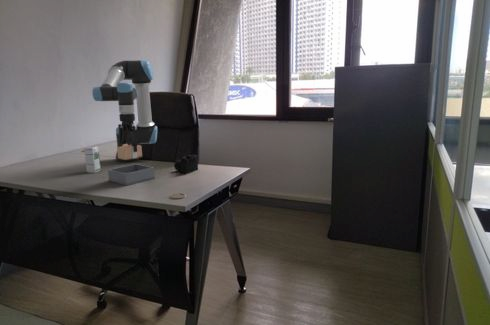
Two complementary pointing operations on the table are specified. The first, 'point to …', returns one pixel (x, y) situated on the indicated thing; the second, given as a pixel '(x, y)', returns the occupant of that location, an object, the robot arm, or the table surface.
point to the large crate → (131, 174)
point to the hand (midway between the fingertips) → (130, 157)
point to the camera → (187, 164)
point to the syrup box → (92, 159)
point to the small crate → (128, 152)
